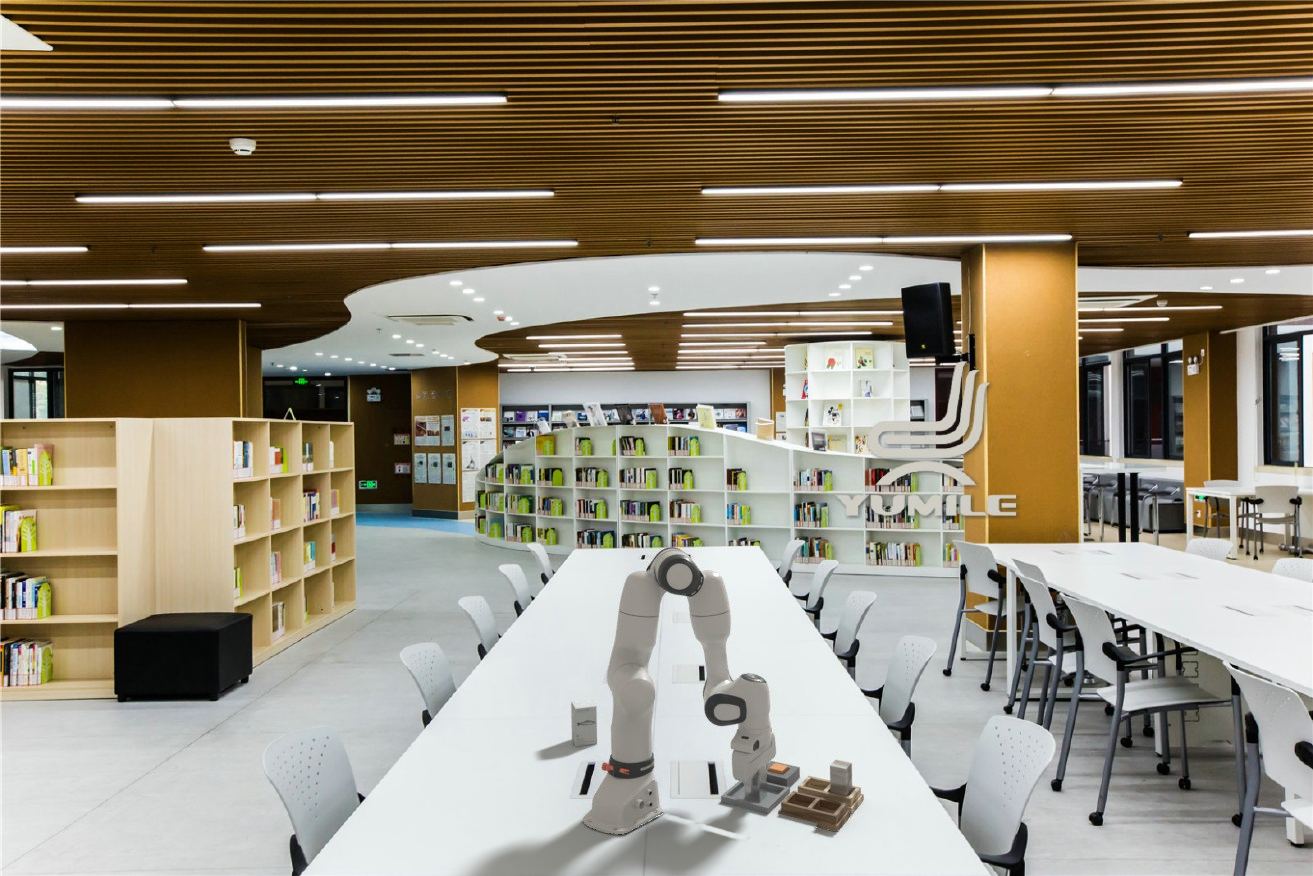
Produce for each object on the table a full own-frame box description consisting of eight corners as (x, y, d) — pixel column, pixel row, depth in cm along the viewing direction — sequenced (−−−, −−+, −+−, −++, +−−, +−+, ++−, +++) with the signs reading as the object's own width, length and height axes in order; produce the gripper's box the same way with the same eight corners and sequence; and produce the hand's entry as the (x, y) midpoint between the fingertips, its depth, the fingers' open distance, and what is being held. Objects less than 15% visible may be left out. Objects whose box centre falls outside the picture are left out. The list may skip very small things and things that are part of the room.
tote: (768, 817, 210) (768, 808, 210) (721, 805, 218) (720, 796, 218) (790, 796, 222) (789, 787, 222) (744, 785, 230) (744, 776, 230)
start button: (782, 781, 228) (782, 771, 228) (769, 778, 230) (769, 768, 230) (788, 776, 231) (788, 766, 231) (775, 773, 233) (775, 763, 233)
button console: (787, 793, 224) (786, 779, 224) (757, 786, 229) (757, 772, 229) (799, 781, 232) (799, 767, 232) (771, 774, 237) (770, 760, 237)
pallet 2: (837, 832, 202) (836, 818, 202) (778, 816, 211) (778, 803, 211) (849, 816, 210) (849, 803, 210) (792, 802, 219) (792, 789, 219)
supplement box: (575, 747, 260) (574, 708, 260) (571, 739, 267) (570, 701, 267) (597, 744, 262) (596, 706, 262) (593, 736, 269) (592, 698, 269)
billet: (759, 802, 217) (759, 769, 217) (744, 798, 220) (743, 765, 219) (766, 795, 221) (766, 763, 221) (751, 792, 223) (750, 759, 223)
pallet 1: (851, 814, 211) (851, 774, 211) (795, 800, 220) (794, 761, 220) (863, 799, 219) (862, 761, 219) (808, 786, 228) (807, 749, 228)
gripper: (760, 720, 230) (761, 768, 231) (727, 745, 213) (728, 797, 213) (780, 724, 227) (782, 773, 227) (748, 749, 210) (750, 802, 210)
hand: (755, 785), depth 220 cm, fingers open, 8 cm apart
